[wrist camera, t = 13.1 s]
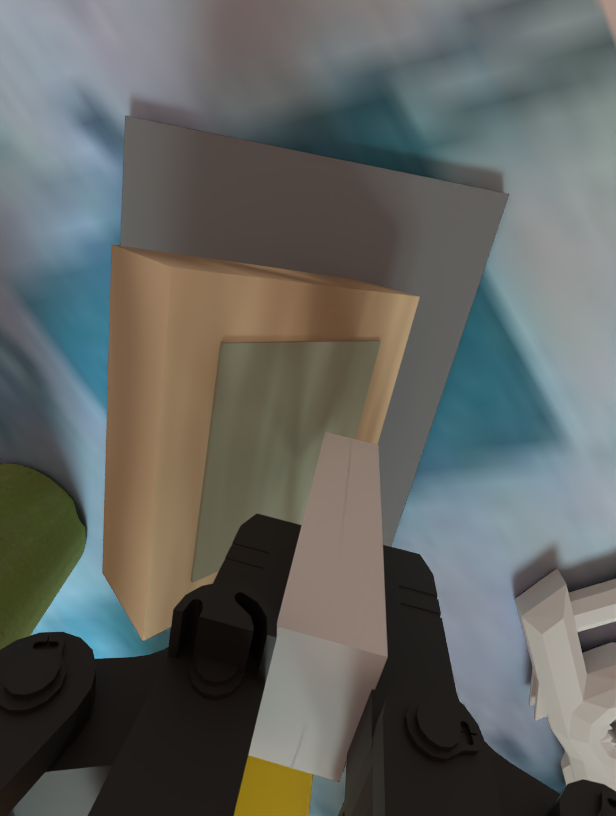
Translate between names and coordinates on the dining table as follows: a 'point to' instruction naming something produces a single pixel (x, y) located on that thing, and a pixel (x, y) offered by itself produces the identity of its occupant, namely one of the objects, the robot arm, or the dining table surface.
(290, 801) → the yellow paper roll
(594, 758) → the light grey toy spaceship
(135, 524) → the rectangular block
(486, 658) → the dining table surface
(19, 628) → the plant pot
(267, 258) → the mat
